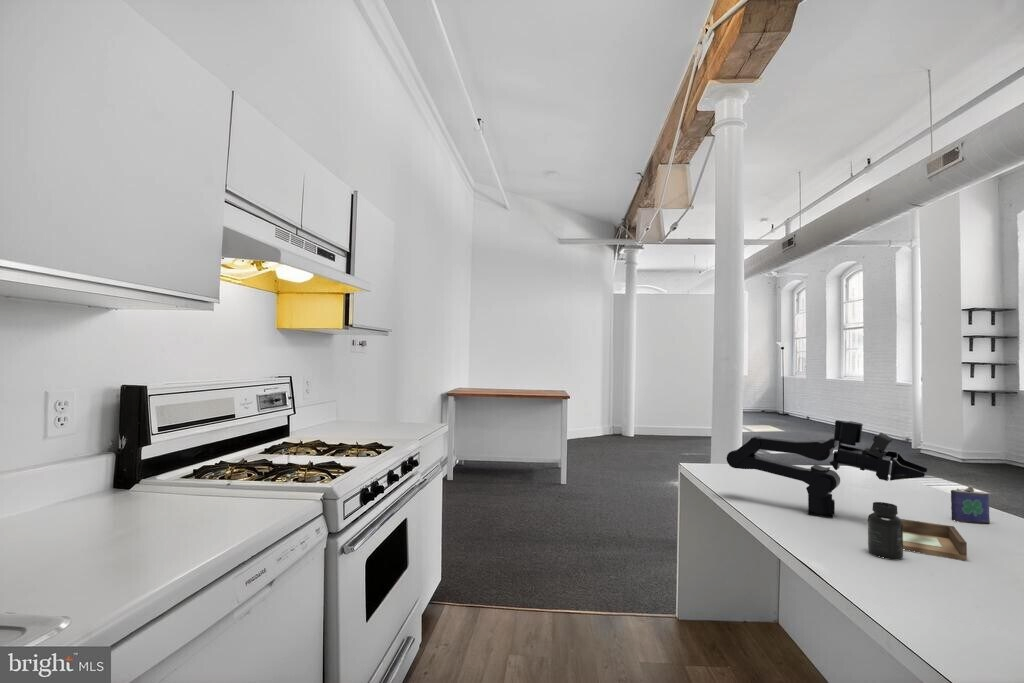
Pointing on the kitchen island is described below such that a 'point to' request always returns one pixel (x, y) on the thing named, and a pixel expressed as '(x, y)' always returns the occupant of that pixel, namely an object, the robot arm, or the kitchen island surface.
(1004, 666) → the kitchen island surface
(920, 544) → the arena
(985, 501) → the flask
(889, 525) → the supplement bottle
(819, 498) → the robot arm
